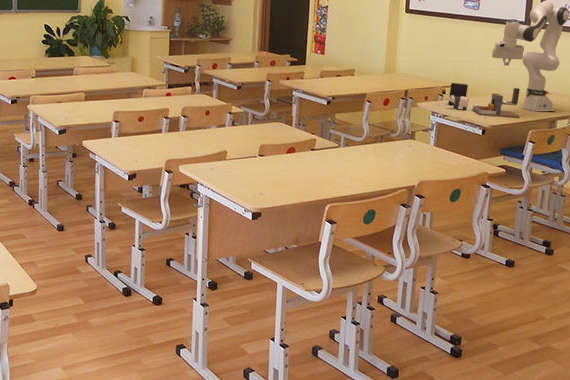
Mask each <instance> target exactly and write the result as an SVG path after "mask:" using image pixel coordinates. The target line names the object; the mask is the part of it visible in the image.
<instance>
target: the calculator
mask: <svg viewBox="0 0 570 380" xmlns="http://www.w3.org/2000/svg"><path fill="white" fill-rule="evenodd" d="M468 89H469V86H468V84H467V83H457V82H456V83H455V82H451V84H450V89H449V97H450V96H453V95H454V97H466V98H467V92H468ZM449 97H448V98H449ZM448 105H449V106H453V105H454V103H453V102H450V101H449V100H448Z"/></svg>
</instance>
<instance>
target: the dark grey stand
mask: <svg viewBox="0 0 570 380" xmlns="http://www.w3.org/2000/svg"><path fill="white" fill-rule="evenodd" d="M503 98H504V96H503V95H501V94H499V93H492V94H491V101H490V103H492V104H493V105H494V110H493V111H487V110H488V106H483V105H473V106H472V109H471V110H472V112H474V113H476V114H477V115H479V116H485V117H486V116H487V117H500V118H501V117H502V118H514V119H515V118H517V119H520V116H519V115H518V114H517V113H515V112H513V111H512V110H509V111H508V110H502V107H503V106H502V105H503V104H502V101H504V100H503Z"/></svg>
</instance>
